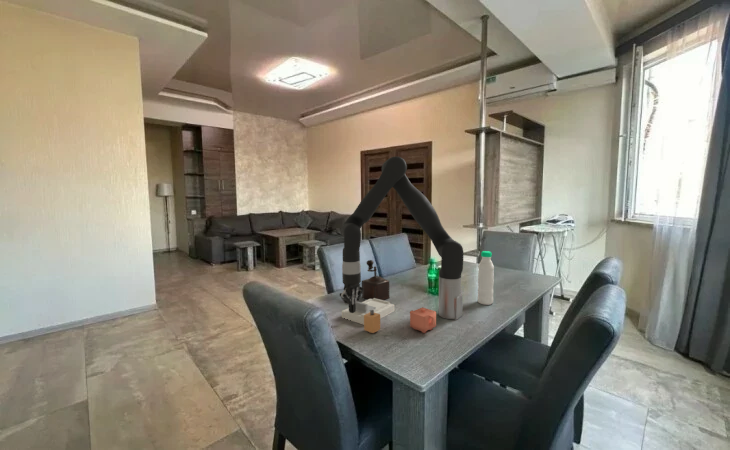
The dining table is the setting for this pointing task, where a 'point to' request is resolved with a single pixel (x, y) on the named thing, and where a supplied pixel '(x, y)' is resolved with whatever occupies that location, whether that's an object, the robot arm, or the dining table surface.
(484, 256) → the white milk bottle
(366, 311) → the grey block
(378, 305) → the socket plate
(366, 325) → the plug
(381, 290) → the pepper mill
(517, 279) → the dining table surface
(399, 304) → the dining table surface
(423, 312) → the pink cube teapot
